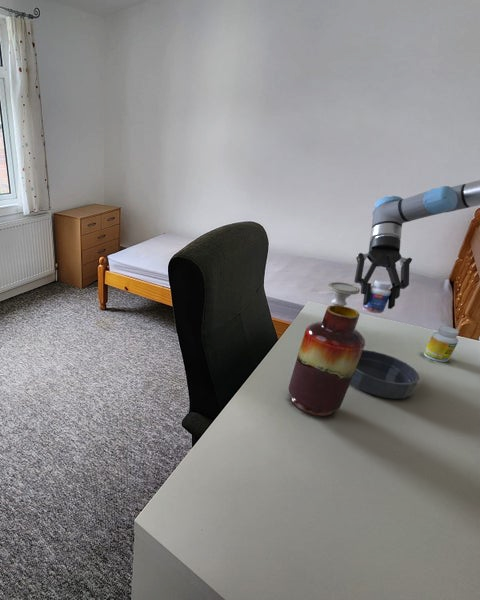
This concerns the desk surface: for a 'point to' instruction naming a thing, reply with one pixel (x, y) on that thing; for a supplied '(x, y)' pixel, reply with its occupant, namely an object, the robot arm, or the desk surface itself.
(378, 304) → the pill bottle
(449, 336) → the supplement bottle
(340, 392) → the vase
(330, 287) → the candle holder
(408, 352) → the desk surface
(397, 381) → the pan
